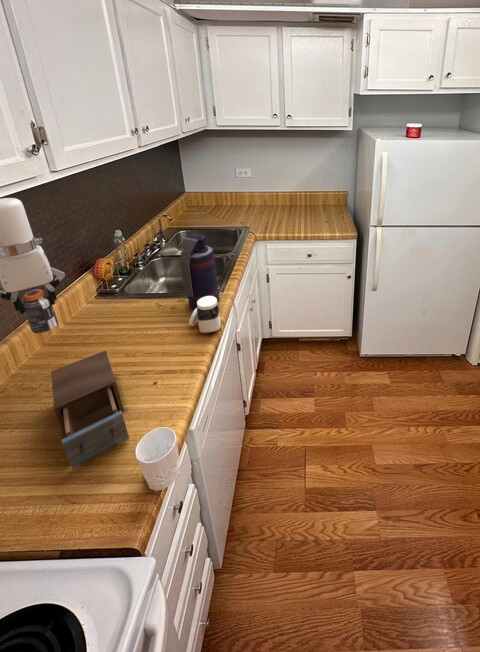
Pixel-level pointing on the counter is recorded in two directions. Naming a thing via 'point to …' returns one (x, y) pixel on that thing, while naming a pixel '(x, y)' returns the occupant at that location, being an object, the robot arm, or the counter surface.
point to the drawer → (92, 427)
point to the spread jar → (206, 315)
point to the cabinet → (82, 383)
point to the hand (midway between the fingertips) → (38, 306)
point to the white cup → (158, 458)
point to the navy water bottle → (198, 269)
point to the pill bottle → (39, 311)
